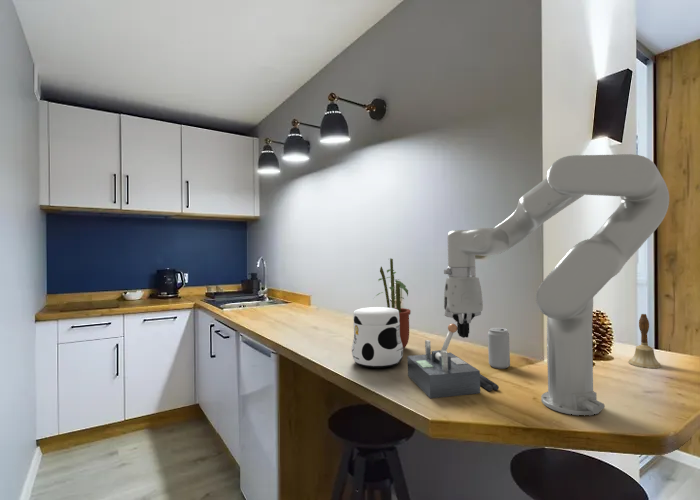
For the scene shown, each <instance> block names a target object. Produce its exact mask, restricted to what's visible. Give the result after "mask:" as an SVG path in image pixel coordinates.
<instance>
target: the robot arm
mask: <svg viewBox="0 0 700 500" xmlns="http://www.w3.org/2000/svg"><path fill="white" fill-rule="evenodd" d="M588 195H589V196H605V197H606V196H607V197H608V196H609V197H620V204H619V206H618V207H617V208H616V210H615V211H613V213H612V214H611V215H610V216H609V217H608V218H607V219H606V220H605V222H604V223H603V225H601V227H599V229H598V230H597V231H596V232H595V233H594V234H593V235H592V236H591V237H590V238H587V239H584V240H582V241H579V242H577V243H576V244H574V246H573V247H571V249H570V250H568V252H567V253H566V254H565V255H564V256H563V257H562V258H561V259H560V261H559V262H558V263H557V264H556V265H555V267H554V268H553V269H552V270H551V271H550V273H549V274H548V275H547V276H546V278H544V280H543V281H542V282H541V283H540V284H539V286H538V287H537V290H536V293H535V302H536V305H537V308H538V309H539V311H540V312H541V313H542V314H543V315H544V316H546V317H547V318H546V319H547V321H546V355H547V356H546V358H547V359H546V360H547V391H546V392H544V393H542V394H541V396H540V397H541V403H542V404H543V405H544V406H545V407H547V408H548V409H551V410H553V411H555V412H558V413H562V414H566V415H571V414H572V415H571V416H579V415H584V417H585V415H589V416H594V414H595V415H598V414H599V412H600V413H601V412H602V410H603V409H605V407H606V406H605V403H603V402H601V401H599V400H598V398H597V392H595V391H594V366H593V365H594V362H593V357H594V356H593V316H594V315H593V313H594V297H595V296H596V295H597V294H598V293H599V291H601V290H602V289H603V288H604V287H605V285H607V284H608V282H609V281H610V280H611V279H613V278H614V277H616V276H617V275H618V274H619V273H620V272H621V270H622V269H623V268H624V266H625V265H626V264H627V262H628V261H629V260H630V259H631V258H632V257H633V256H634V254H636V252H637V251H639V249H641V247H642V246H643V245H644V243H645V242H646V241H647V240H648V239H649V238H650V237H651V235H653V233H654V232H655V231H656V230H657V228H658V227H659V226H660V225H661V224H662V222H663V221H664V220H665V219H664V218H665V217H666V215H667V213H668V209H669V206H670V205H669V204H670V192H669V189H668V186H667V183H666V181H665V179H664V178H663V176H662V174H661V172H660V170H659V169H658V167H657V166H656V164H655V163H654V162H653V161H652V160H651V159H650V158H648V157H646V156H643V155H640V154H631V153H630V154H625V153H624V154H619V153H618V154H585V155H584V154H577V155H576V154H573V155H572V154H571V155H567V156H563V157H560V158H558V159H557V160H556V161H554V162H553V163H552V164H551V165H550V166H549V169H548V170H547V174H546V177H545V178H544V179H543V180H542V181H540V182H539V183H538V184H536V185H535V186H534V187H533V188H531V189H530V190H528V191H527V192H525V193H524V194H523V195H522V196H521V197H520V198H519V200H518V203H517V205H516V209H515V210H514V211H513V212H512V214H511V215H509V216H508V217H507V218H505V219H504V220H503V221H502V222H500V223H499V224H497V225H496V226H494V227H480V228H475V229H474V228H473V229H461V230H460V229H456V230H451V231H449V232H448V234H447V262H448V263H447V265H448V266H447V269H444V270H443V274H444V275H447V277H446V279H445V284H444V293H443V295H444V296H443V305H444V306H443V307H444V310H445V311H444V316H445V317H447V318H450V319H453V320H454V321H455V322H456V326H457V331H456V332H457V335H458V336H459V337H461V338H463V339H465V338H469V334H470V324H471V322H472V320H474V319H475V317H479V316H481V315H482V311H483V309H484V303H483V302H484V301H483V294H482V293H483V292H482V286H481V282H480V278H479V277H477V276H476V256H480V257H481V256H482V257H484V256H485V257H487V256H495V255H499V254H503V253H505V252H507V251H508V250H509V249H512V248H513V247H514V246H516V245H517V244H519V243H520V242H522V241H523V240H524V239H526V238H527V237H529V235H531V234H533V232H535V231H536V230H537V229H539V227H541V225H543V224H544V223H545V222H547V221H548V220H550V219H551V218H553V217H554V216H556V215H558V213H560V212H562V211H563V210H564V209H566V208H568V207H569V206H570V205H572V204H573V203H575V202H576V201H578V200H579V199H580V198H582V197H584V196H588Z"/></svg>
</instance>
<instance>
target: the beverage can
mask: <svg viewBox="0 0 700 500" xmlns="http://www.w3.org/2000/svg"><path fill="white" fill-rule="evenodd" d="M487 343H488V345H487V350H488V351H487V352H488V354H487V355H488V365H490V366H491V368H495V369H500V370H501V369H503V370H504V369H507V368H509V367H510V365H511V355H510V353H511V352H510V333H509V330H508V329H507V328H504V327H490V328H489V329H488V332H487Z"/></svg>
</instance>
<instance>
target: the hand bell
mask: <svg viewBox="0 0 700 500" xmlns="http://www.w3.org/2000/svg"><path fill="white" fill-rule="evenodd" d="M638 328H639V331H640V334H641V335H640V345H637V346H635V352H634V354H633V356H632V357H631V358H630V359H628V364H630V365H631V366H635V367H639V368H643V369H649V370H650V369H652V370H653V369H660V368H662V364H661V363H660V362H659V361H658V360H657V358H656V354H655V351H654V348H653V347H651V346H650V345H649V340H648V339H649V338H648V332H649V330H650V322H649V318H648V316H647V314H646V313H641V314H640V317H639V320H638Z"/></svg>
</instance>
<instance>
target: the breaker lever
mask: <svg viewBox="0 0 700 500" xmlns="http://www.w3.org/2000/svg"><path fill="white" fill-rule="evenodd" d="M456 332H457V324H455V323H449V324H448V326H447V334H446V337H445V339H444V341H443V344H442V347H441V349H440V350H441V351H447V350H448V347H449V345H450V343H451V340H452V337H453V336H454V333H456ZM447 352H448V351H447ZM439 356H441V352H440V353H439V352H437V353H436V354H435V358H436V359H437V360H439V361H440V359H439Z"/></svg>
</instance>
